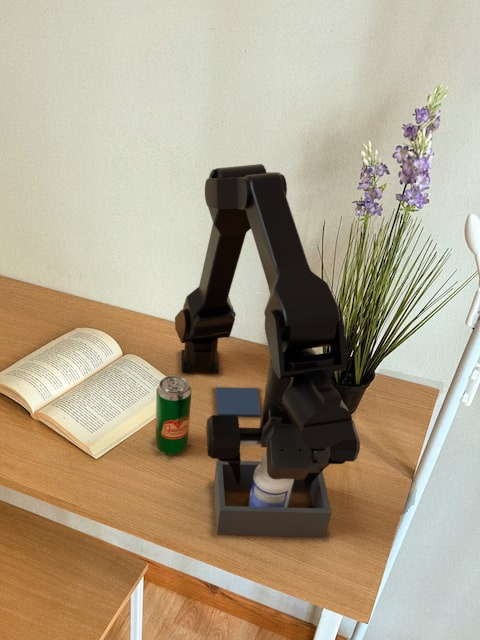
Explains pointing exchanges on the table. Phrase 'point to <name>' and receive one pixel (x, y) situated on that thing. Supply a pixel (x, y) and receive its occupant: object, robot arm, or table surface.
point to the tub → (269, 508)
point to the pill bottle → (269, 488)
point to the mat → (238, 402)
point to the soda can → (172, 415)
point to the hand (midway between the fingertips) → (271, 483)
